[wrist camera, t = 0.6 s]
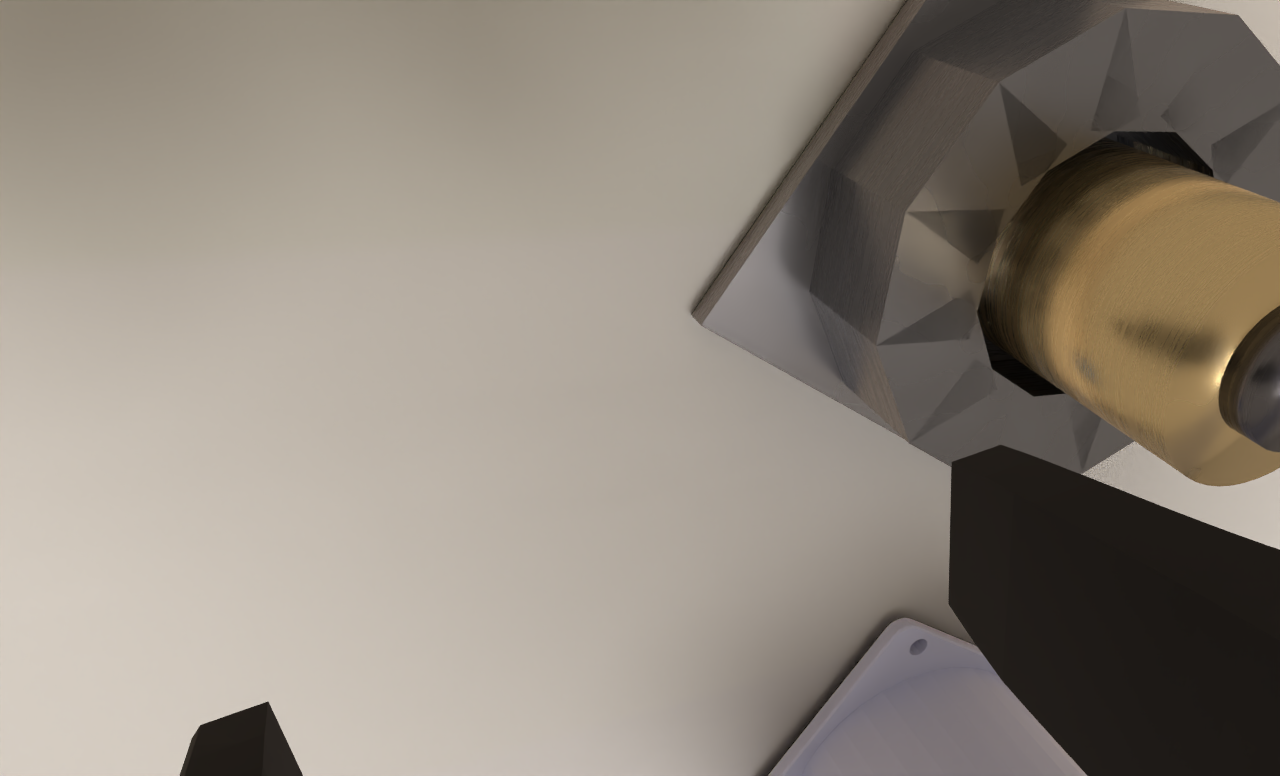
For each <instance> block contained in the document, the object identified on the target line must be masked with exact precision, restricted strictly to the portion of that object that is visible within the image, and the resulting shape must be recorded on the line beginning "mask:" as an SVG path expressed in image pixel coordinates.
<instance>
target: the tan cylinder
mask: <svg viewBox="0 0 1280 776" xmlns="http://www.w3.org/2000/svg"><path fill="white" fill-rule="evenodd" d="M977 314H978V318H979V321H980V325H981V329H982V333H983V337H985V338H986V339H988V340H989V341H990V342H992V343H993V344H995V345H996V346H998V347H999V348H1001V349H1002V350H1004V351H1005V352H1006V353H1008V354H1009V355H1011V356H1012V357H1014V358H1015V359H1017V360H1018V361H1019V362H1021V363H1022V364H1024V365H1025V366H1027V367H1028V368H1030V369H1031V370H1033V371H1034V372H1035V373H1037V374H1038V375H1040V376H1041V377H1043V378H1044V379H1046V380H1047V381H1049V382H1050V383H1051V384H1053V385H1054V386H1056V387H1057V388H1059V389H1060V390H1062V391H1063V392H1064V393H1066V394H1067V395H1069V396H1070V397H1072V398H1073V399H1075V400H1076V401H1078V402H1079V403H1080V404H1082V405H1083V406H1085V407H1086V408H1088V409H1089V410H1091V411H1092V412H1093V413H1095V414H1096V415H1098V416H1099V417H1101V418H1102V419H1104V420H1105V421H1107V422H1108V423H1109V424H1111V425H1112V426H1114V427H1115V428H1117V429H1118V430H1120V431H1121V432H1122V433H1124V434H1125V435H1127V436H1128V437H1130V438H1131V439H1133V440H1134V441H1136V442H1137V443H1138V444H1140V445H1141V446H1143V447H1144V448H1146V449H1147V450H1149V451H1150V452H1152V453H1153V454H1154V455H1156V456H1157V457H1159V458H1160V459H1162V460H1163V461H1165V462H1166V463H1167V464H1169V465H1170V466H1172V467H1173V468H1175V469H1176V470H1178V471H1179V472H1181V473H1182V474H1183V475H1185V476H1186V477H1188V478H1190V479H1192V480H1194V481H1195V482H1198V483H1201V484H1205V485H1211V486H1230V485H1236V484H1241V483H1245V482H1248V481H1251V480H1254V479H1257V478H1260V477H1262V476H1264V475H1266V474H1268V473H1271V472H1273V471H1275V470H1276V469H1278V468H1280V202H1277V201H1274V200H1272V199H1269V198H1266V197H1264V196H1261V195H1258V194H1256V193H1253V192H1250V191H1248V190H1245V189H1242V188H1240V187H1237V186H1234V185H1232V184H1229V183H1226V182H1224V181H1221V180H1218V179H1216V178H1213V177H1210V176H1208V175H1205V174H1202V173H1199V172H1197V171H1194V170H1191V169H1189V168H1186V167H1183V166H1181V165H1178V164H1175V163H1173V162H1170V161H1167V160H1165V159H1162V158H1159V157H1157V156H1154V155H1151V154H1149V153H1146V152H1143V151H1141V150H1138V149H1135V148H1133V147H1130V146H1127V145H1125V144H1122V143H1119V142H1117V141H1114V140H1111V139H1109V138H1106V137H1104V138H1102V139H1100V140H1099V141H1097V142H1095V143H1094V144H1092V145H1090V146H1089V147H1087V148H1085V149H1084V150H1082V151H1080V152H1079V153H1077V154H1075V155H1073V156H1072V157H1070V158H1068V159H1067V160H1065V161H1063V162H1062V163H1060V164H1058V165H1057V166H1055V167H1053V168H1052V169H1050V170H1048V171H1047V172H1046V173H1045V175H1044V176H1043V177H1042V179H1041V180H1040V181H1039V183H1038V184H1037V185H1036V187H1035V188H1034V189H1033V191H1032V192H1031V193H1030V195H1029V196H1028V197H1027V199H1026V200H1025V201H1024V203H1023V204H1022V205H1021V207H1020V208H1019V209H1018V211H1017V212H1016V213H1015V215H1014V216H1013V217H1012V219H1011V220H1010V221H1009V223H1008V224H1007V225H1006V227H1005V228H1004V229H1003V231H1002V232H1001V233H1000V235H999V236H998V237H997V239H996V242H995V246H994V250H993V254H992V258H991V261H990V265H989V269H988V273H987V276H986V280H985V284H984V288H983V292H982V295H981V299H980V303H979V307H978V310H977Z"/></svg>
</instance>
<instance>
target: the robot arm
mask: <svg viewBox="0 0 1280 776" xmlns="http://www.w3.org/2000/svg"><path fill="white" fill-rule="evenodd" d="M949 605H950V607H951V608H952V610H953V611H954V613H955V614H956V616H957V617H958V619H959V620H960V622H961V623H962V625H963V626H964V628H965V629H966V631H967V632H968V634H969V635H970V636H971V638H972V639H973V641H974V642H975V644H976V645H977V646H975V645H973V644H970V643H968V642H966V641H963V640H961V639H958V638H956V637H954V636H951V635H949V634H946V633H944V632H942V631H939V630H937V629H935V628H932V627H930V626H927V625H925V624H923V623H920V622H918V621H915V620H913V619H910V618H901V619H897V620H895V621H894V622H892V623H891V624H889V625H888V626H887V627H886V629H885V630H884V631H883V632H882V634H881V635H880V636H879V637H878V639H877V640H876V641H875V642H874V644H873V645H872V646H871V647H870V649H869V650H868V651H867V652H866V654H865V655H864V656H863V657H862V659H861V660H860V661H859V662H858V664H857V665H856V666H855V667H854V669H853V670H852V671H851V672H850V674H849V675H848V676H847V677H846V679H845V680H844V681H843V682H842V684H841V685H840V686H839V687H838V689H837V690H836V691H835V692H834V694H833V695H832V696H831V697H830V698H829V700H828V701H827V702H826V703H825V705H824V706H823V707H822V708H821V710H820V711H819V712H818V713H817V715H816V716H815V717H814V718H813V720H812V721H811V722H810V723H809V725H808V726H807V727H806V728H805V730H804V731H803V732H802V733H801V735H800V736H799V737H798V738H797V740H796V741H795V742H794V743H793V745H792V746H791V747H790V748H789V750H788V751H787V752H786V753H785V755H784V756H783V757H782V758H781V760H780V761H779V762H778V763H777V765H776V766H775V767H774V768H773V770H772V771H771V772H770V773H769V775H768V776H1280V550H1279V549H1276V548H1273V547H1270V546H1267V545H1264V544H1261V543H1259V542H1256V541H1253V540H1250V539H1247V538H1245V537H1242V536H1239V535H1236V534H1233V533H1231V532H1228V531H1225V530H1223V529H1220V528H1217V527H1215V526H1212V525H1209V524H1206V523H1204V522H1201V521H1199V520H1196V519H1193V518H1191V517H1188V516H1185V515H1183V514H1180V513H1178V512H1175V511H1172V510H1170V509H1167V508H1165V507H1162V506H1160V505H1157V504H1154V503H1152V502H1149V501H1147V500H1144V499H1142V498H1139V497H1137V496H1134V495H1132V494H1129V493H1127V492H1124V491H1122V490H1119V489H1117V488H1114V487H1111V486H1109V485H1106V484H1104V483H1101V482H1099V481H1096V480H1094V479H1091V478H1089V477H1086V476H1084V475H1081V474H1079V473H1076V472H1074V471H1071V470H1069V469H1066V468H1063V467H1061V466H1058V465H1056V464H1053V463H1051V462H1048V461H1045V460H1043V459H1040V458H1038V457H1035V456H1032V455H1029V454H1027V453H1024V452H1021V451H1018V450H1015V449H1012V448H1010V447H1007V446H1004V445H998V446H996V447H993V448H990V449H987V450H984V451H981V452H978V453H976V454H973V455H970V456H967V457H964V458H961V459H958V460H956V461H953V462H952V472H951V516H950V561H949ZM180 776H303V775H302V772H301V770H300V768H299V766H298V764H297V762H296V760H295V758H294V755H293V753H292V751H291V749H290V747H289V745H288V743H287V740H286V738H285V736H284V734H283V732H282V730H281V728H280V726H279V723H278V721H277V719H276V717H275V715H274V713H273V711H272V708H271V706H270V704H269V702H265V703H263V704H260V705H257V706H254V707H251V708H248V709H245V710H243V711H240V712H237V713H234V714H231V715H228V716H225V717H223V718H220V719H217V720H214V721H211V722H208V723H205V724H203V725H200V727H199V728H198V730H197V731H196V733H195V734H194V736H193V738H192V740H191V743H190V746H189V749H188V752H187V755H186V758H185V761H184V764H183V767H182V770H181V773H180Z"/></svg>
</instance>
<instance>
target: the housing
mask: <svg viewBox="0 0 1280 776" xmlns="http://www.w3.org/2000/svg"><path fill="white" fill-rule="evenodd" d="M1104 137H1106V138H1109V139H1111V140H1114V141H1117V142H1119V143H1122V144H1125V145H1127V146H1130V147H1133V148H1135V149H1138V150H1141V151H1143V152H1146V153H1149V154H1151V155H1154V156H1157V157H1159V158H1162V159H1165V160H1167V161H1170V162H1173V163H1175V164H1178V165H1181V166H1183V167H1186V168H1189V169H1191V170H1194V171H1197V172H1199V173H1202V174H1205V175H1208V176H1210V177H1213V178H1216V179H1218V180H1221V181H1224V182H1226V183H1229V184H1232V185H1234V186H1237V187H1240V188H1242V189H1245V190H1248V191H1250V192H1253V193H1256V194H1258V195H1261V196H1264V197H1266V198H1269V199H1272V200H1274V201H1277V202H1280V65H1279V64H1278V63H1277V62H1276V61H1275V59H1274V58H1273V57H1272V56H1271V54H1270V53H1269V52H1268V51H1267V50H1266V48H1265V47H1264V46H1263V45H1262V43H1261V42H1260V41H1259V40H1258V39H1257V37H1256V36H1255V35H1254V34H1253V32H1252V31H1251V30H1250V29H1249V28H1248V26H1247V25H1246V24H1245V23H1244V21H1243V20H1242V19H1241V18H1240V17H1239V15H1235V14H1231V13H1226V12H1221V11H1216V10H1211V9H1207V8H1202V7H1197V6H1192V5H1187V4H1182V3H1178V2H1173V1H1169V0H907V1H906V3H905V4H904V6H903V7H902V9H901V10H900V11H899V13H898V14H897V16H896V17H895V19H894V20H893V22H892V23H891V25H890V26H889V27H888V29H887V30H886V32H885V33H884V35H883V36H882V38H881V39H880V41H879V42H878V44H877V45H876V46H875V48H874V49H873V51H872V52H871V54H870V55H869V57H868V58H867V60H866V61H865V62H864V64H863V65H862V67H861V68H860V70H859V71H858V73H857V74H856V76H855V77H854V79H853V80H852V81H851V83H850V84H849V86H848V87H847V89H846V90H845V92H844V93H843V95H842V96H841V97H840V99H839V100H838V102H837V103H836V105H835V106H834V108H833V109H832V111H831V112H830V114H829V115H828V116H827V118H826V119H825V121H824V122H823V124H822V125H821V127H820V128H819V130H818V131H817V132H816V134H815V135H814V137H813V138H812V140H811V141H810V143H809V144H808V146H807V147H806V149H805V150H804V151H803V153H802V154H801V156H800V157H799V159H798V160H797V162H796V163H795V165H794V166H793V167H792V169H791V170H790V172H789V173H788V175H787V176H786V178H785V179H784V181H783V182H782V183H781V185H780V186H779V188H778V189H777V191H776V192H775V194H774V195H773V197H772V198H771V200H770V201H769V202H768V204H767V205H766V207H765V208H764V210H763V211H762V213H761V214H760V216H759V217H758V218H757V220H756V221H755V223H754V224H753V226H752V227H751V229H750V230H749V232H748V233H747V235H746V236H745V237H744V239H743V240H742V242H741V243H740V245H739V246H738V248H737V249H736V251H735V252H734V253H733V255H732V256H731V258H730V259H729V261H728V262H727V264H726V265H725V267H724V268H723V270H722V271H721V272H720V274H719V275H718V277H717V278H716V280H715V281H714V283H713V284H712V286H711V287H710V288H709V290H708V291H707V293H706V294H705V296H704V297H703V299H702V300H701V302H700V303H699V305H698V306H697V307H696V309H695V310H694V312H693V313H692V316H693V317H694V318H695V319H696V320H697V321H698V323H699V324H700V325H701V326H703V327H705V328H707V329H709V330H710V331H712V332H714V333H716V334H717V335H719V336H721V337H723V338H725V339H726V340H728V341H730V342H732V343H734V344H735V345H737V346H739V347H741V348H743V349H744V350H746V351H748V352H750V353H751V354H753V355H755V356H757V357H759V358H760V359H762V360H764V361H766V362H768V363H769V364H771V365H773V366H775V367H777V368H778V369H780V370H782V371H784V372H786V373H787V374H789V375H791V376H793V377H794V378H796V379H798V380H800V381H802V382H803V383H805V384H807V385H809V386H811V387H812V388H814V389H816V390H818V391H820V392H821V393H823V394H825V395H827V396H829V397H830V398H832V399H834V400H836V401H837V402H839V403H841V404H843V405H845V406H846V407H848V408H850V409H852V410H854V411H855V412H857V413H859V414H861V415H863V416H864V417H866V418H868V419H870V420H871V421H873V422H875V423H877V424H879V425H880V426H882V427H884V428H886V429H888V430H889V431H891V432H893V433H895V434H897V435H898V436H900V437H902V438H904V439H905V440H906V441H907V442H908V443H910V444H911V445H913V446H915V447H917V448H919V449H920V450H922V451H924V452H926V453H928V454H929V455H931V456H933V457H935V458H937V459H938V460H940V461H942V462H944V463H946V464H947V465H949V466H951V467H952V462H953V461H956V460H958V459H961V458H964V457H967V456H970V455H973V454H976V453H978V452H981V451H984V450H987V449H990V448H993V447H996V446H998V445H1004V446H1007V447H1010V448H1012V449H1015V450H1018V451H1021V452H1024V453H1027V454H1029V455H1032V456H1035V457H1038V458H1040V459H1043V460H1045V461H1048V462H1051V463H1053V464H1056V465H1058V466H1061V467H1063V468H1066V469H1069V470H1071V471H1074V472H1076V473H1079V474H1081V473H1084V472H1085V471H1087V470H1088V469H1090V468H1092V467H1093V466H1095V465H1097V464H1098V463H1100V462H1101V461H1103V460H1105V459H1106V458H1108V457H1109V456H1111V455H1113V454H1114V453H1116V452H1118V451H1119V450H1121V449H1122V448H1124V447H1126V446H1127V445H1129V444H1130V443H1132V442H1134V440H1133V439H1131V438H1130V437H1128V436H1127V435H1125V434H1124V433H1122V432H1121V431H1120V430H1118V429H1117V428H1115V427H1114V426H1112V425H1111V424H1109V423H1108V422H1107V421H1105V420H1104V419H1102V418H1101V417H1099V416H1098V415H1096V414H1095V413H1093V412H1092V411H1091V410H1089V409H1088V408H1086V407H1085V406H1083V405H1082V404H1080V403H1079V402H1078V401H1076V400H1075V399H1073V398H1072V397H1070V396H1069V395H1067V394H1066V393H1064V392H1063V391H1062V390H1060V389H1059V388H1057V387H1056V386H1054V385H1053V384H1051V383H1050V382H1049V381H1047V380H1046V379H1044V378H1043V377H1041V376H1040V375H1038V374H1037V373H1035V372H1034V371H1033V370H1031V369H1030V368H1028V367H1027V366H1025V365H1024V364H1022V363H1021V362H1019V361H1018V360H1017V359H1015V358H1014V357H1012V356H1011V355H1009V354H1008V353H1006V352H1005V351H1004V350H1002V349H1001V348H999V347H998V346H996V345H995V344H993V343H992V342H990V341H989V340H988V339H986V338H985V337H983V333H982V329H981V325H980V321H979V318H978V314H977V310H978V307H979V303H980V299H981V295H982V292H983V288H984V284H985V280H986V276H987V273H988V269H989V265H990V261H991V258H992V254H993V250H994V246H995V242H996V239H997V237H998V236H999V235H1000V233H1001V232H1002V231H1003V229H1004V228H1005V227H1006V225H1007V224H1008V223H1009V221H1010V220H1011V219H1012V217H1013V216H1014V215H1015V213H1016V212H1017V211H1018V209H1019V208H1020V207H1021V205H1022V204H1023V203H1024V201H1025V200H1026V199H1027V197H1028V196H1029V195H1030V193H1031V192H1032V191H1033V189H1034V188H1035V187H1036V185H1037V184H1038V183H1039V181H1040V180H1041V179H1042V177H1043V176H1044V175H1045V173H1046V172H1047V171H1048V170H1050V169H1052V168H1053V167H1055V166H1057V165H1058V164H1060V163H1062V162H1063V161H1065V160H1067V159H1068V158H1070V157H1072V156H1073V155H1075V154H1077V153H1079V152H1080V151H1082V150H1084V149H1085V148H1087V147H1089V146H1090V145H1092V144H1094V143H1095V142H1097V141H1099V140H1100V139H1102V138H1104Z"/></svg>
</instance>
